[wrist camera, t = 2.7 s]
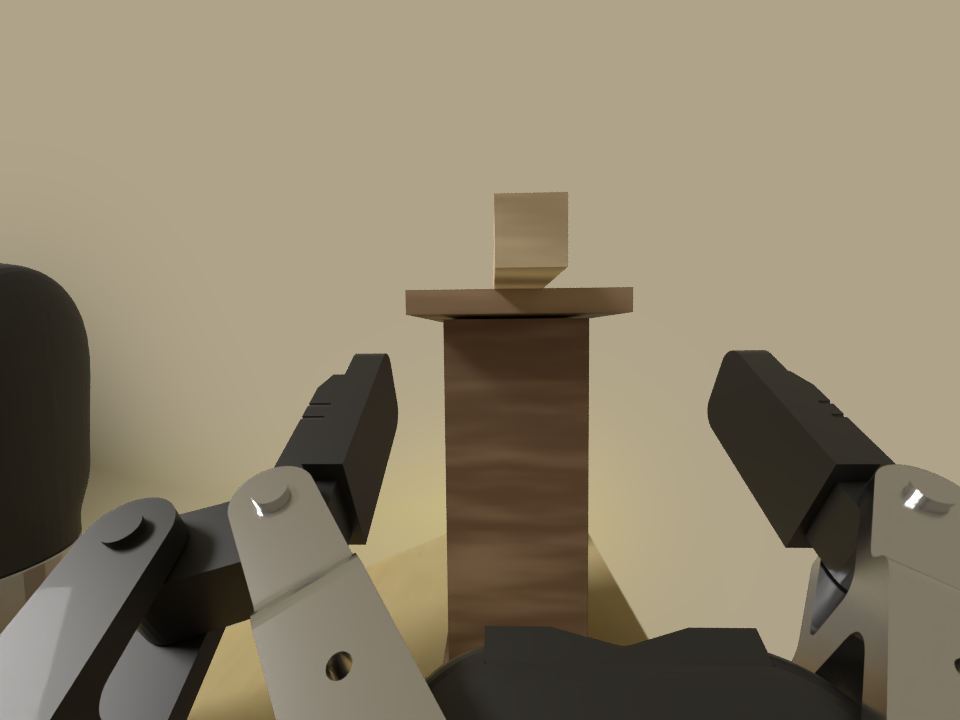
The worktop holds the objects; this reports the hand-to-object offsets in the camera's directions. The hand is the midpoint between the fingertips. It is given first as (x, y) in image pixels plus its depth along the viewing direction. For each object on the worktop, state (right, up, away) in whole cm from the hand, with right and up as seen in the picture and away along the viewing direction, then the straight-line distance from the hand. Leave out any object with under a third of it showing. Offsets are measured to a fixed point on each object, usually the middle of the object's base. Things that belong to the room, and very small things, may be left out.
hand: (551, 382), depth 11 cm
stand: (+1, -26, +28) cm, 39 cm away
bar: (+1, +6, +27) cm, 28 cm away
